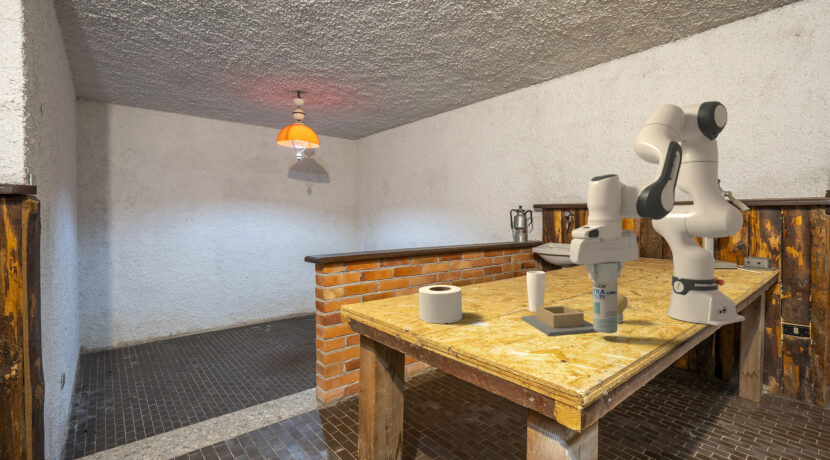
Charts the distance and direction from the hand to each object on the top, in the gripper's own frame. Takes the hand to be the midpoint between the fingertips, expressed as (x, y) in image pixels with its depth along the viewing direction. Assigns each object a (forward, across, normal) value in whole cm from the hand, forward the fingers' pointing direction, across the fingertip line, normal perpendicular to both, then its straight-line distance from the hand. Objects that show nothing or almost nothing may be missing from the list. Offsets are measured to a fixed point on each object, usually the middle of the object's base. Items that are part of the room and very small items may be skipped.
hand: (604, 277), depth 107 cm
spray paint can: (+16, 0, 0) cm, 16 cm away
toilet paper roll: (+18, +42, -33) cm, 56 cm away
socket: (+18, +6, -15) cm, 24 cm away
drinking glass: (+18, +5, -32) cm, 37 cm away
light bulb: (+19, -14, -13) cm, 27 cm away
